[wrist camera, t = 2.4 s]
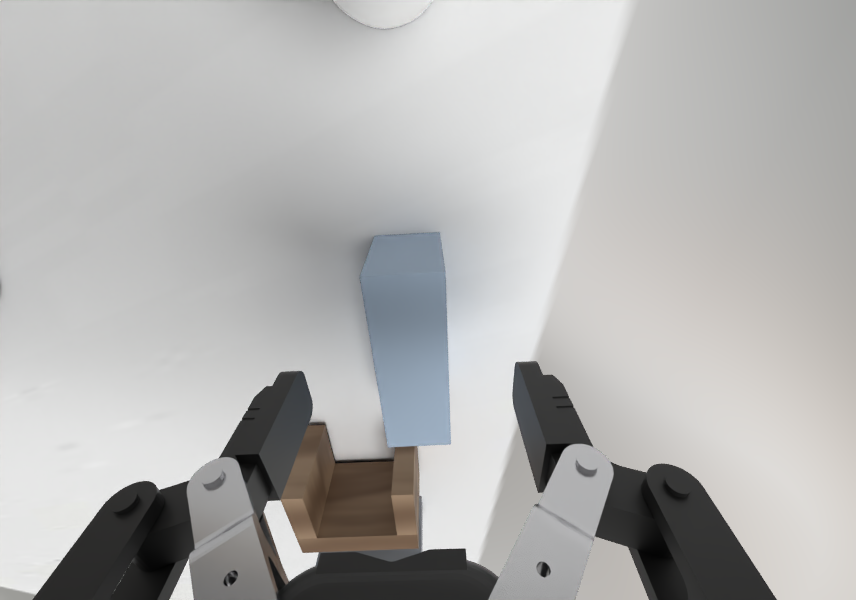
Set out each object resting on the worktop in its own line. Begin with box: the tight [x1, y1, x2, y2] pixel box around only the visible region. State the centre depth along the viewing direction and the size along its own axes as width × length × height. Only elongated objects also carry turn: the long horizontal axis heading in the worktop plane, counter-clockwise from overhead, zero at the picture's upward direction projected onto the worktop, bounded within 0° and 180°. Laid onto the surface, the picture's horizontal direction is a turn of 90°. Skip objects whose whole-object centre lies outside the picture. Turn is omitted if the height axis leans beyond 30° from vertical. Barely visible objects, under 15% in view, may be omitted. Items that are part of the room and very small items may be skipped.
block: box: [281, 425, 419, 553], centre depth 28 cm, size 7×9×6 cm
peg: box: [360, 232, 451, 447], centre depth 22 cm, size 12×4×6 cm, turn 3°
